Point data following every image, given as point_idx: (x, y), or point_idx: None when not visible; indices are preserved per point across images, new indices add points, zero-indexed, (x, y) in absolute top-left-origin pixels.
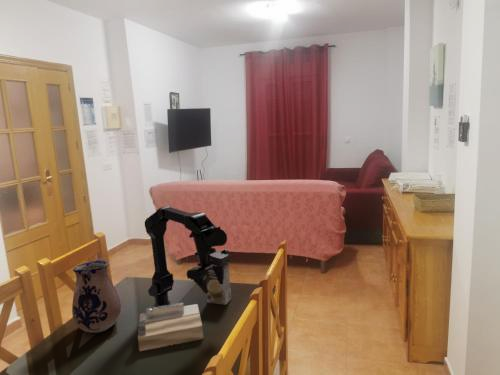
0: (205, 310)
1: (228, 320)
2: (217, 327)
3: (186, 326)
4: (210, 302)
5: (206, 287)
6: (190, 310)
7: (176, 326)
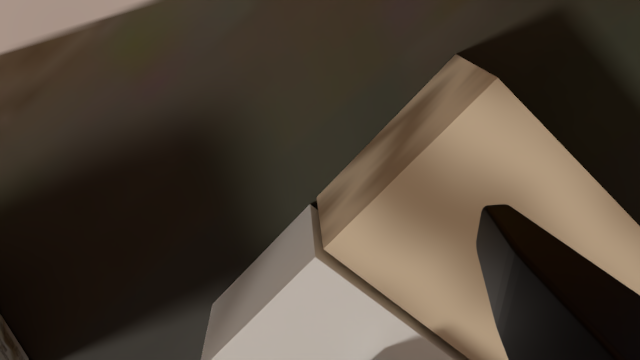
0: (127, 312)
1: (132, 58)
2: (270, 68)
3: (553, 194)
4: (22, 354)
5: (580, 279)
6: (317, 342)
7: None
